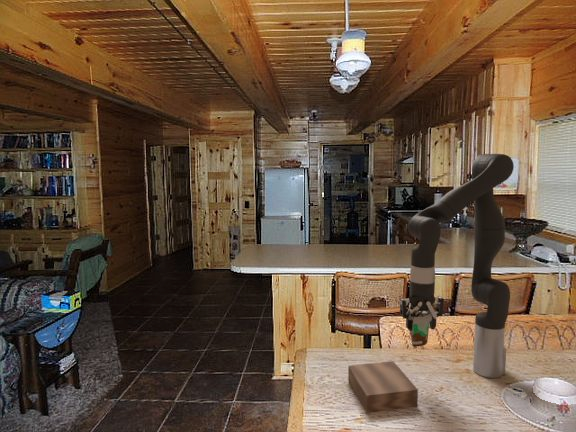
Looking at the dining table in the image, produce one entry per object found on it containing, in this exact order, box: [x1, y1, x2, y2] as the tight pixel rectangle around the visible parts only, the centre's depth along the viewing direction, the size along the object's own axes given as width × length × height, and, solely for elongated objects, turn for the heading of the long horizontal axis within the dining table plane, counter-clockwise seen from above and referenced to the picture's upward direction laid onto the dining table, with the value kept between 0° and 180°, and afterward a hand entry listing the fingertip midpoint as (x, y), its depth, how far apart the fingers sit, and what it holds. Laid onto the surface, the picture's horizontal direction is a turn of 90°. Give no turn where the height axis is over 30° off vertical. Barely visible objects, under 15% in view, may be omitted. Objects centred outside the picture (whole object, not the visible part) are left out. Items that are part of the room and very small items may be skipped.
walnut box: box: [347, 360, 419, 414], centre depth 133 cm, size 16×18×6 cm
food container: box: [409, 308, 432, 348], centre depth 133 cm, size 12×6×10 cm, turn 169°
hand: (420, 329), depth 134 cm, fingers closed on food container, 7 cm apart
